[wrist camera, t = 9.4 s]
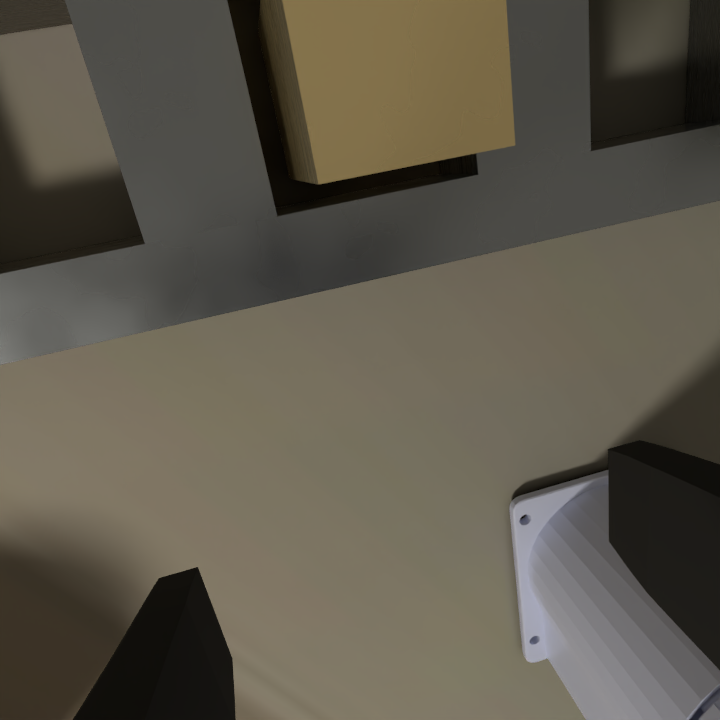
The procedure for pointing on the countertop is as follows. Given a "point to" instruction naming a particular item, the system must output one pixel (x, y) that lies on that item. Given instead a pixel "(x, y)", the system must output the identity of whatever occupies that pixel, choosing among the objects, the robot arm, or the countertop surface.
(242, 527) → the countertop surface
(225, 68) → the rail
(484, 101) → the brass peg
